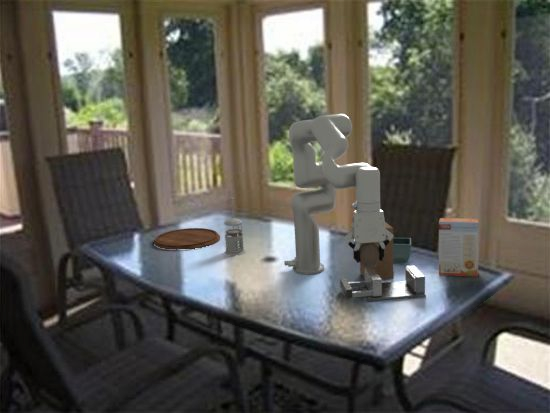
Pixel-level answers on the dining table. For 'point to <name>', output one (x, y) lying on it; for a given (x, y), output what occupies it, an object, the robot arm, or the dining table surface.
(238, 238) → the french press
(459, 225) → the cracker box
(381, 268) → the wooden block
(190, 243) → the cutting board
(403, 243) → the flower pot
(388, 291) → the vise
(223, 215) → the dining table surface
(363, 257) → the vase
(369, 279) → the sliding jaw
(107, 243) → the dining table surface
